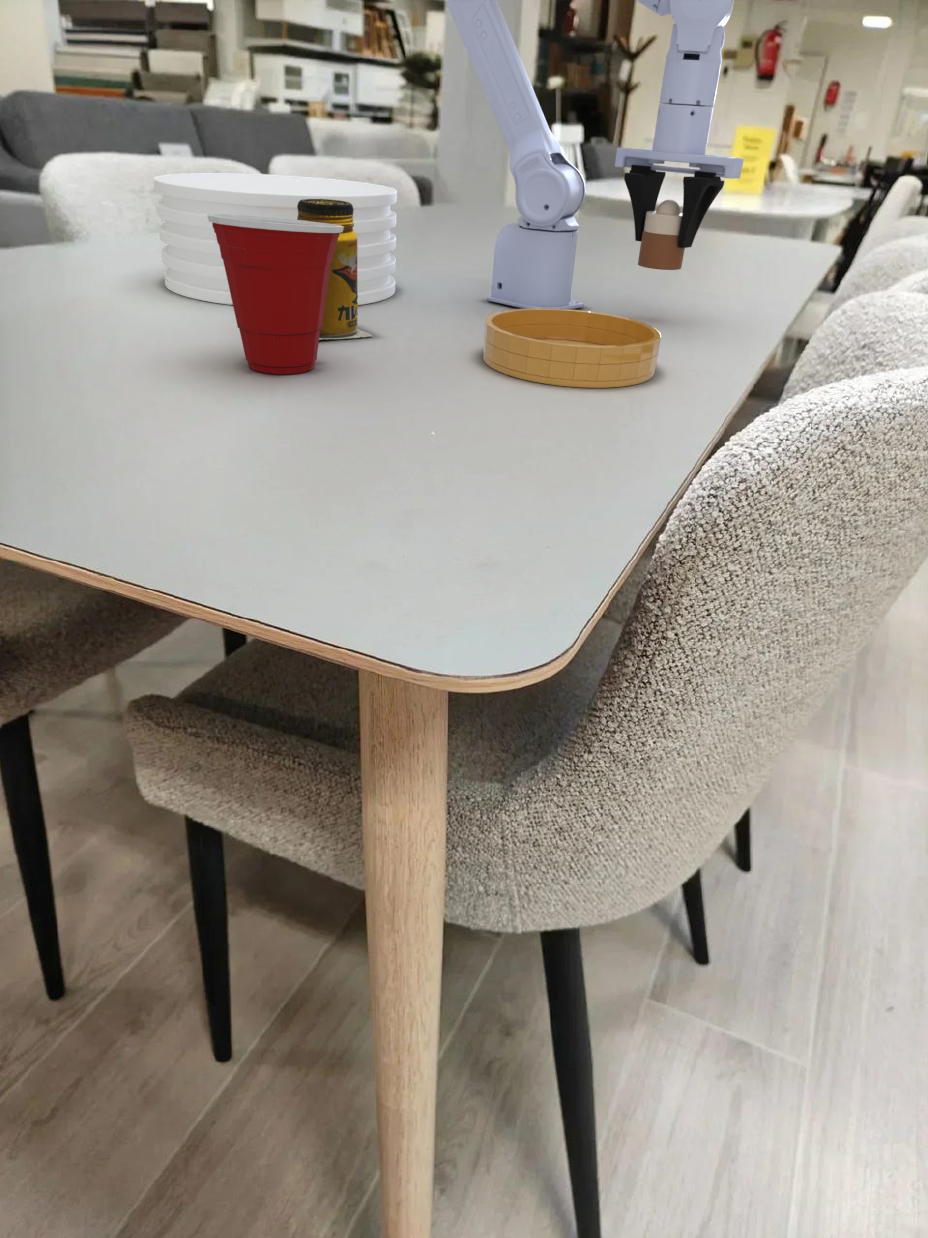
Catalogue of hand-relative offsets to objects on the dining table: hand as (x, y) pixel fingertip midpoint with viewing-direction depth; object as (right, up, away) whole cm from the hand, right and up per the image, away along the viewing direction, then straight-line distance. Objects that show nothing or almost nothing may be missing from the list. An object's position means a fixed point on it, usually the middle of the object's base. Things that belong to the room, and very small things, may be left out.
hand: (663, 243), depth 98 cm
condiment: (-38, -14, -12) cm, 42 cm away
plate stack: (-46, -1, +9) cm, 46 cm away
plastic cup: (-39, -21, -23) cm, 50 cm away
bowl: (-13, -19, -17) cm, 28 cm away
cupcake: (0, -2, +1) cm, 2 cm away
